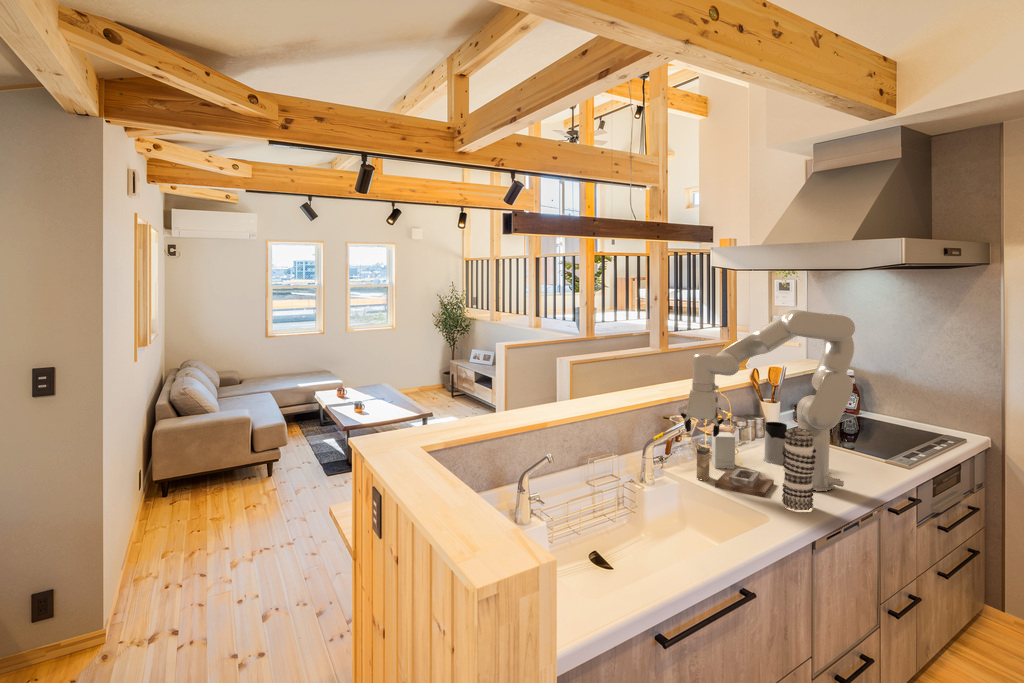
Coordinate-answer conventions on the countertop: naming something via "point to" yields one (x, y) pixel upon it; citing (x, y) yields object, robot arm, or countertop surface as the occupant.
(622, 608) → the countertop surface
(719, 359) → the robot arm
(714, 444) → the supplement box
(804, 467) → the decorative candle
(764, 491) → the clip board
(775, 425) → the glass holder
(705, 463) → the brown upright block
